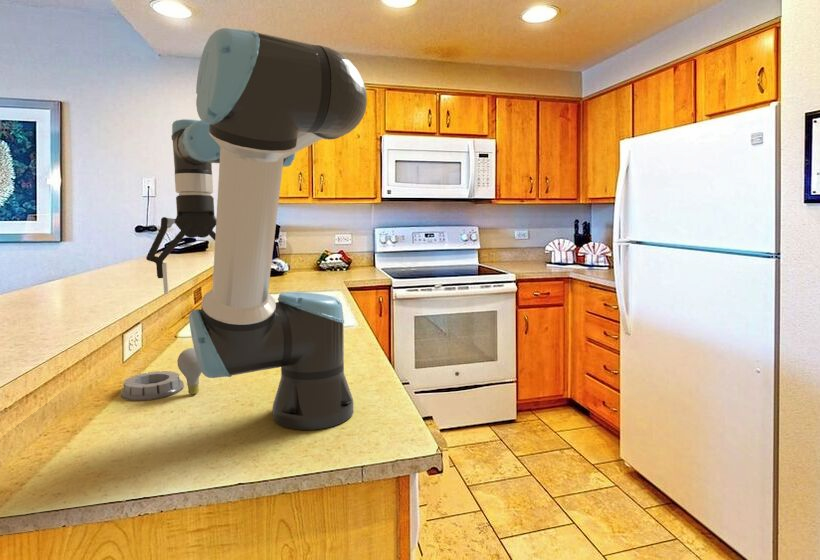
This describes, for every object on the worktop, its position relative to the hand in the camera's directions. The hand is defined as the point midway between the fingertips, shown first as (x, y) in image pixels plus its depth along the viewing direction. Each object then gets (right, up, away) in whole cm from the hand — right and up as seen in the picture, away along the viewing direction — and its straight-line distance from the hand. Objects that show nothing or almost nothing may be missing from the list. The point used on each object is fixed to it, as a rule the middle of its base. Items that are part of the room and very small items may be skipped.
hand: (200, 291), depth 110 cm
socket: (-9, -21, -4) cm, 23 cm away
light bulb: (+1, -22, -6) cm, 23 cm away
